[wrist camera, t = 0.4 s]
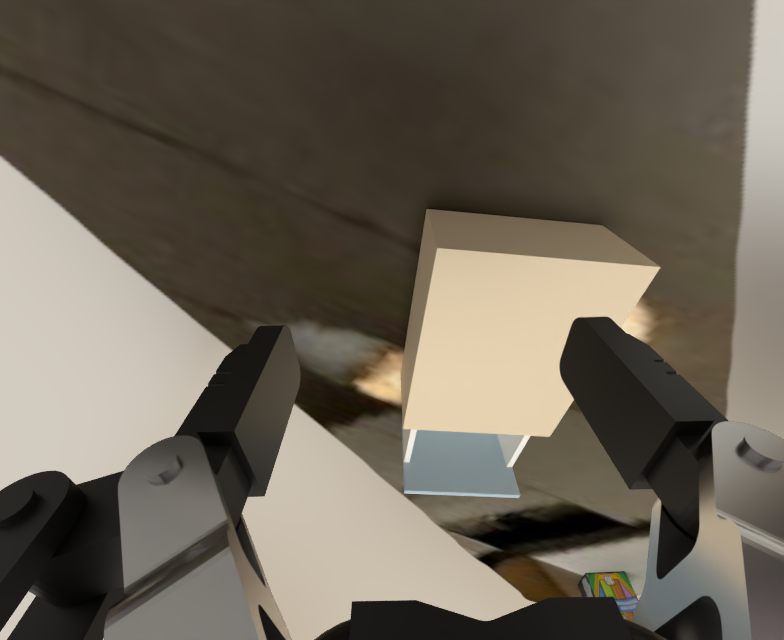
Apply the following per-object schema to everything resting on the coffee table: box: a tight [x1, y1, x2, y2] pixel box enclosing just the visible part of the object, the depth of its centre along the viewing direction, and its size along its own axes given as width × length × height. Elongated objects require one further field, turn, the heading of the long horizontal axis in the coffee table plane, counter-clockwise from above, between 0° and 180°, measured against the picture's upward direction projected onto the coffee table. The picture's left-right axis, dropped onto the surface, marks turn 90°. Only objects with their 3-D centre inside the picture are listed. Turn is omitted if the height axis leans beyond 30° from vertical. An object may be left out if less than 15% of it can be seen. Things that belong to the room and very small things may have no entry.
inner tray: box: [402, 422, 530, 498], centre depth 30 cm, size 25×12×8 cm, turn 175°
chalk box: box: [578, 572, 638, 622], centre depth 72 cm, size 9×9×15 cm
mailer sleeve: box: [401, 209, 660, 437], centre depth 28 cm, size 18×14×7 cm
